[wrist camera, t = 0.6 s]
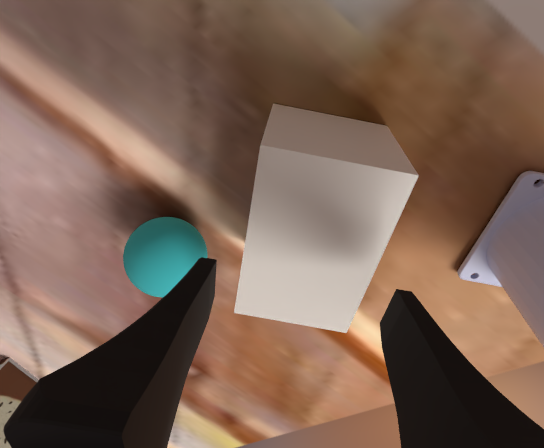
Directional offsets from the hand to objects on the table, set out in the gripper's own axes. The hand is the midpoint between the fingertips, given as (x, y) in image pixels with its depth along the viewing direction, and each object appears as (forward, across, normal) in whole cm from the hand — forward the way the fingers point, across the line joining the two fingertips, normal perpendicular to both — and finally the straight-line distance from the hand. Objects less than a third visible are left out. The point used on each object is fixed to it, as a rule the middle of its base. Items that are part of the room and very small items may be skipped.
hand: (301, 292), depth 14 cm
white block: (+9, 0, 0) cm, 9 cm away
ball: (+6, +8, +5) cm, 11 cm away
